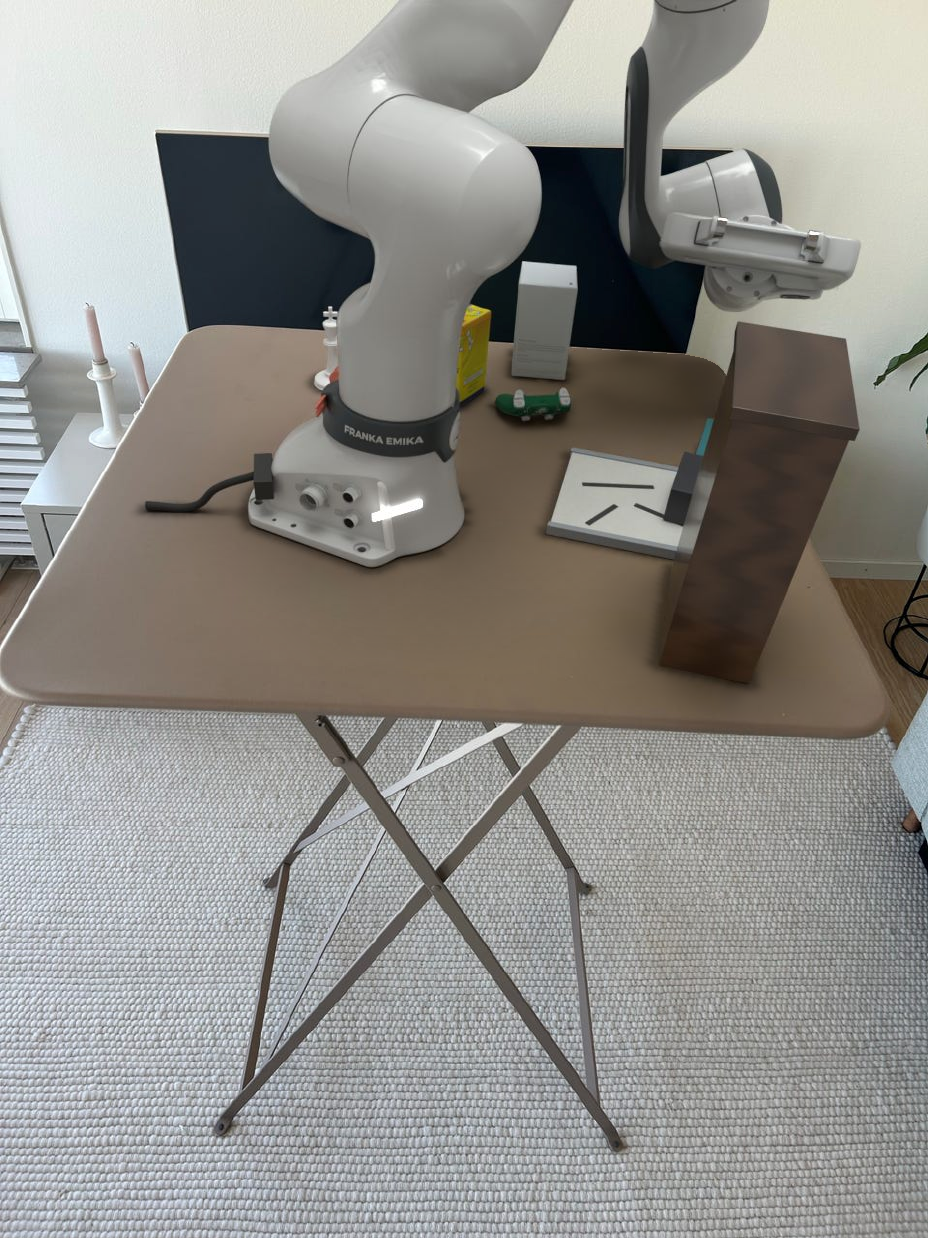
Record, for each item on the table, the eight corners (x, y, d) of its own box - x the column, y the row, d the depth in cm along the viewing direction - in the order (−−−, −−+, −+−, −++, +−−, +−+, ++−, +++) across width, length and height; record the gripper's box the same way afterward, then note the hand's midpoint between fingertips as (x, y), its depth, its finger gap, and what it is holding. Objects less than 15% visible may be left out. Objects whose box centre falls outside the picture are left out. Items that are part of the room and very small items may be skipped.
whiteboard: (545, 534, 92) (547, 525, 91) (570, 455, 103) (571, 446, 103) (723, 569, 89) (726, 560, 89) (728, 485, 101) (731, 476, 100)
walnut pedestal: (655, 666, 79) (732, 406, 61) (668, 566, 89) (737, 320, 72) (752, 687, 78) (860, 428, 60) (754, 584, 88) (846, 338, 70)
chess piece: (314, 373, 114) (309, 298, 107) (352, 373, 115) (350, 298, 108) (314, 392, 111) (309, 316, 104) (353, 392, 111) (351, 316, 104)
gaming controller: (495, 427, 110) (506, 414, 105) (492, 396, 111) (503, 383, 105) (566, 423, 112) (580, 411, 106) (563, 393, 112) (577, 379, 106)
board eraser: (662, 519, 93) (671, 488, 91) (692, 435, 107) (700, 406, 104) (709, 532, 92) (719, 500, 89) (733, 445, 106) (742, 415, 103)
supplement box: (420, 393, 112) (422, 310, 104) (447, 376, 116) (451, 294, 108) (458, 409, 110) (463, 325, 102) (485, 391, 113) (492, 308, 106)
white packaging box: (565, 356, 122) (579, 264, 113) (564, 382, 116) (578, 287, 108) (512, 350, 122) (521, 259, 113) (509, 376, 117) (518, 282, 108)
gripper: (664, 216, 101) (669, 182, 88) (847, 243, 98) (881, 213, 85) (652, 273, 103) (655, 249, 89) (832, 302, 100) (862, 281, 87)
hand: (766, 232), depth 87 cm, fingers open, 8 cm apart
